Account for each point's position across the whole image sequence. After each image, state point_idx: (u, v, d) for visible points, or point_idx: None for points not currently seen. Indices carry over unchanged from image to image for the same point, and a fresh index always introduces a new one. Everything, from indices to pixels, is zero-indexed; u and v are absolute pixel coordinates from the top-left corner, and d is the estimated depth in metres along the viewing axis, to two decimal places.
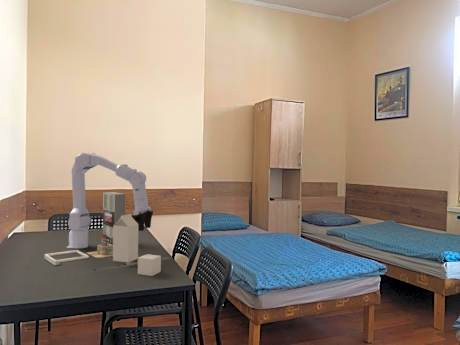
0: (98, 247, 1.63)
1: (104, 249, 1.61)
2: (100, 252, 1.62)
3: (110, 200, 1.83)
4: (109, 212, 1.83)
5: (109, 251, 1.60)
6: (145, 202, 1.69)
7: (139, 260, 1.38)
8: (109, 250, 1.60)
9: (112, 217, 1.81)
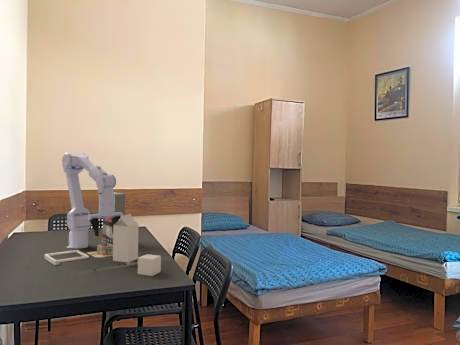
0: (98, 247, 1.63)
1: (104, 249, 1.61)
2: (100, 252, 1.62)
3: None
4: None
5: (109, 251, 1.60)
6: (105, 208, 1.61)
7: (139, 260, 1.38)
8: (109, 250, 1.60)
9: None
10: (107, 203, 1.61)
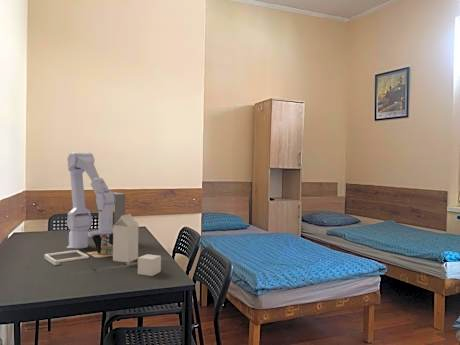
0: None
1: (104, 249, 1.61)
2: None
3: None
4: None
5: (109, 251, 1.60)
6: (105, 225, 1.61)
7: (139, 260, 1.38)
8: (109, 250, 1.60)
9: None
10: (107, 220, 1.61)
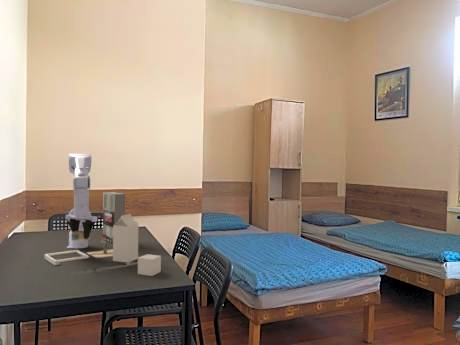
0: None
1: None
2: None
3: (110, 200, 1.83)
4: (109, 212, 1.83)
5: (72, 237, 1.54)
6: (74, 210, 1.56)
7: (139, 260, 1.38)
8: (72, 236, 1.54)
9: (112, 217, 1.81)
10: (75, 205, 1.56)
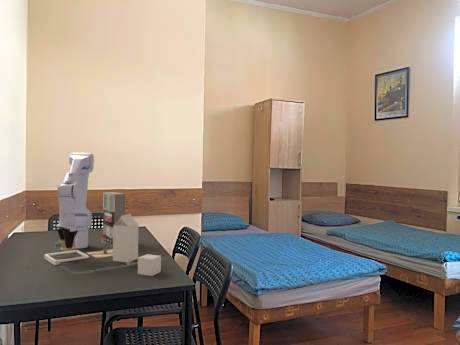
0: None
1: None
2: None
3: (110, 200, 1.83)
4: (109, 212, 1.83)
5: (55, 245, 1.53)
6: None
7: (139, 260, 1.38)
8: (54, 244, 1.53)
9: (112, 217, 1.81)
10: (59, 213, 1.54)
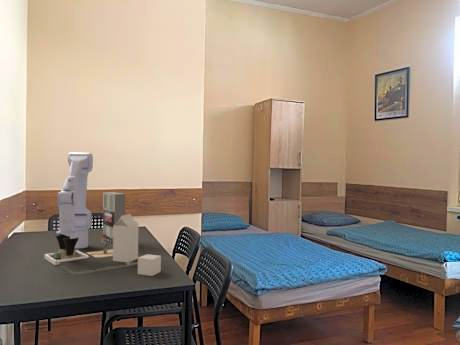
0: None
1: None
2: None
3: (110, 200, 1.83)
4: (109, 212, 1.83)
5: (54, 255, 1.53)
6: None
7: (139, 260, 1.38)
8: (54, 254, 1.53)
9: (112, 217, 1.81)
10: (59, 220, 1.54)
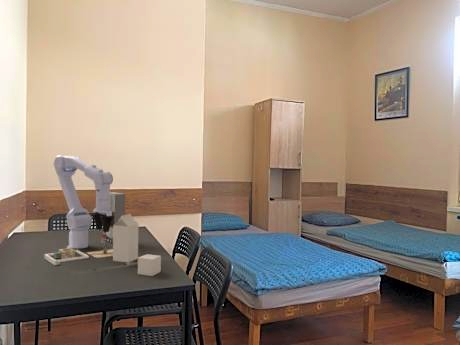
0: None
1: None
2: None
3: (110, 200, 1.83)
4: None
5: (54, 255, 1.53)
6: (96, 203, 1.67)
7: (139, 260, 1.38)
8: (54, 254, 1.53)
9: None
10: (96, 199, 1.66)
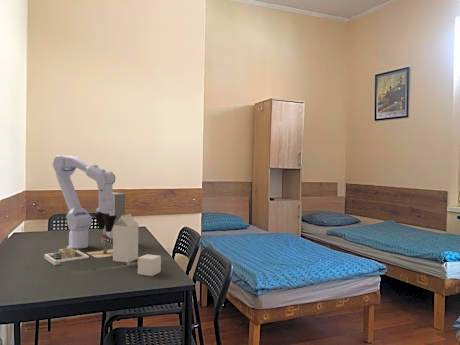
0: None
1: None
2: None
3: None
4: None
5: (54, 255, 1.53)
6: None
7: (139, 260, 1.38)
8: (54, 254, 1.53)
9: None
10: None
